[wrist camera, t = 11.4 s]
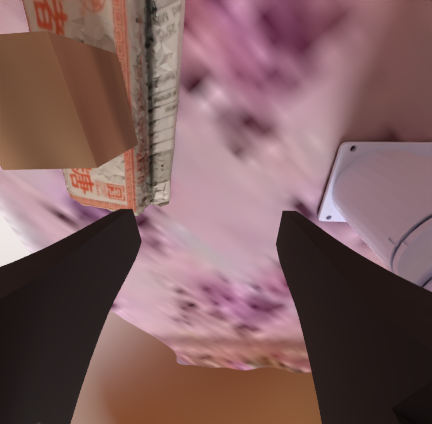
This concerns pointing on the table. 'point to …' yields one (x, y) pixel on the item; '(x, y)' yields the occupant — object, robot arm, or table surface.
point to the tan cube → (60, 104)
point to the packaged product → (127, 91)
